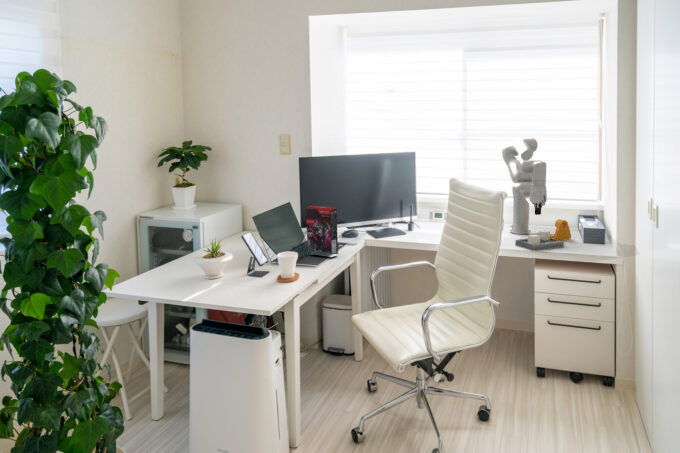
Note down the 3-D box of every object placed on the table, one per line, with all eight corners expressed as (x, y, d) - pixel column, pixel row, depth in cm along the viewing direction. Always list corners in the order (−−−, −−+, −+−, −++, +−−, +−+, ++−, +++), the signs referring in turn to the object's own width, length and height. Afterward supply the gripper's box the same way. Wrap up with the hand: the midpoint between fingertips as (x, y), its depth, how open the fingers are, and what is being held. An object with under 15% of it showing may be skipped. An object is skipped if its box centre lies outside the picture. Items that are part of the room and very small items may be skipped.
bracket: (562, 237, 375) (563, 217, 373) (570, 239, 368) (571, 219, 366) (547, 238, 372) (548, 219, 369) (556, 241, 365) (556, 221, 362)
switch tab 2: (527, 244, 349) (528, 235, 348) (535, 243, 351) (535, 234, 350) (532, 245, 345) (532, 236, 344) (539, 244, 347) (540, 236, 346)
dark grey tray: (515, 245, 357) (515, 239, 357) (544, 241, 365) (544, 236, 364) (533, 250, 343) (533, 245, 342) (563, 246, 350) (563, 241, 350)
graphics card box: (306, 255, 344) (304, 207, 339) (313, 252, 350) (312, 205, 345) (331, 259, 335) (330, 209, 330) (339, 256, 340) (337, 207, 335)
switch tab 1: (528, 240, 358) (528, 232, 357) (535, 239, 360) (536, 231, 359) (533, 241, 355) (533, 233, 354) (540, 240, 356) (540, 232, 355)
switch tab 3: (537, 239, 361) (538, 230, 360) (544, 238, 362) (545, 230, 361) (542, 240, 357) (542, 232, 356) (549, 239, 359) (549, 231, 358)
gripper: (525, 182, 365) (524, 213, 368) (542, 184, 351) (541, 216, 354) (535, 181, 367) (534, 212, 371) (553, 184, 354) (551, 215, 357)
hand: (537, 214), depth 362 cm, fingers closed
